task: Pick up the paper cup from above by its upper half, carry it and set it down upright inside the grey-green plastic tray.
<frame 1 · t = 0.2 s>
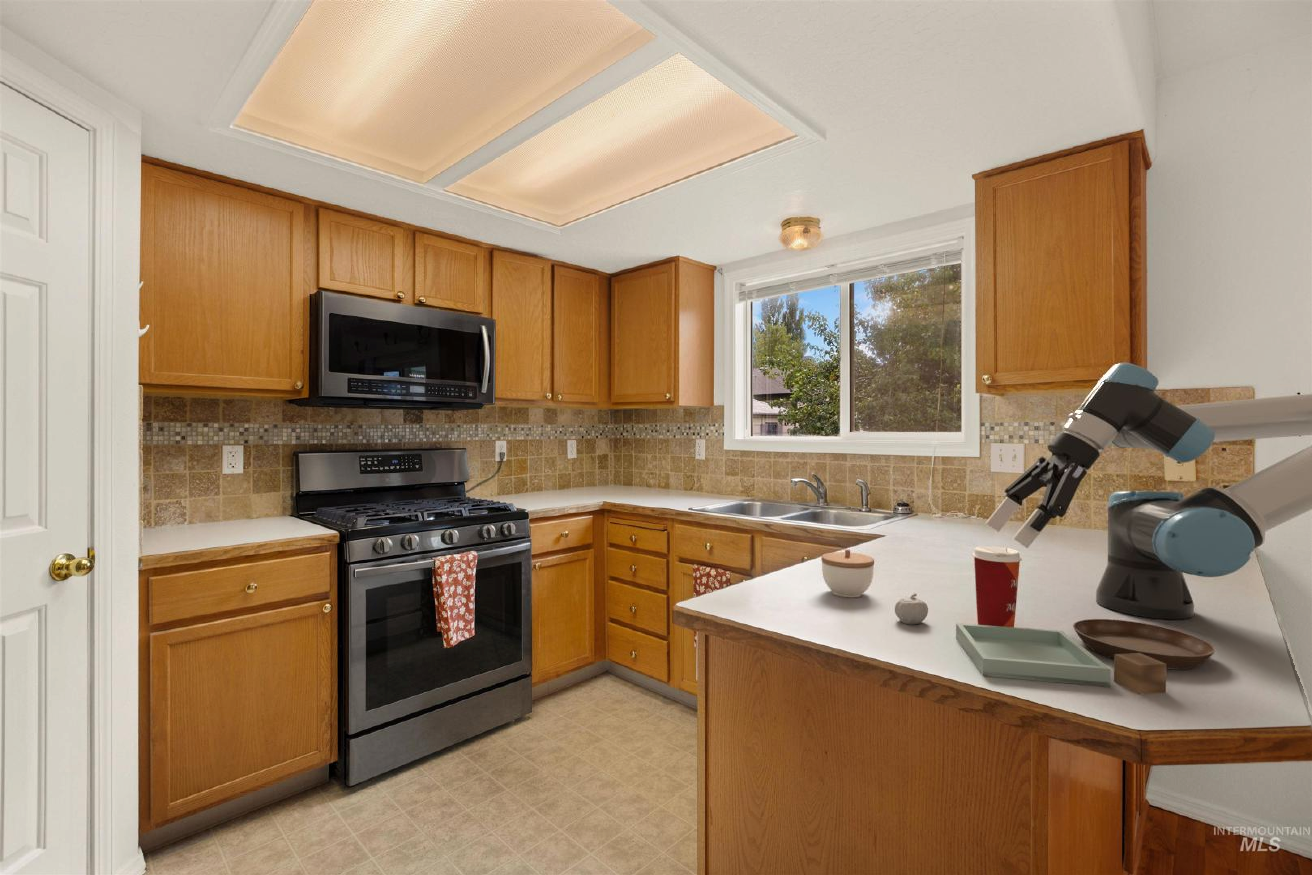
hand: (1004, 535, 115), 16 cm above the counter, fingers open, 13 cm apart
paper cup: (995, 629, 110), on the counter
tray: (1025, 659, 95), on the counter
walnut block: (1139, 687, 85), on the counter
lidded jar: (847, 594, 132), on the counter
plant saucer: (1139, 655, 98), on the counter
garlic: (911, 623, 113), on the counter
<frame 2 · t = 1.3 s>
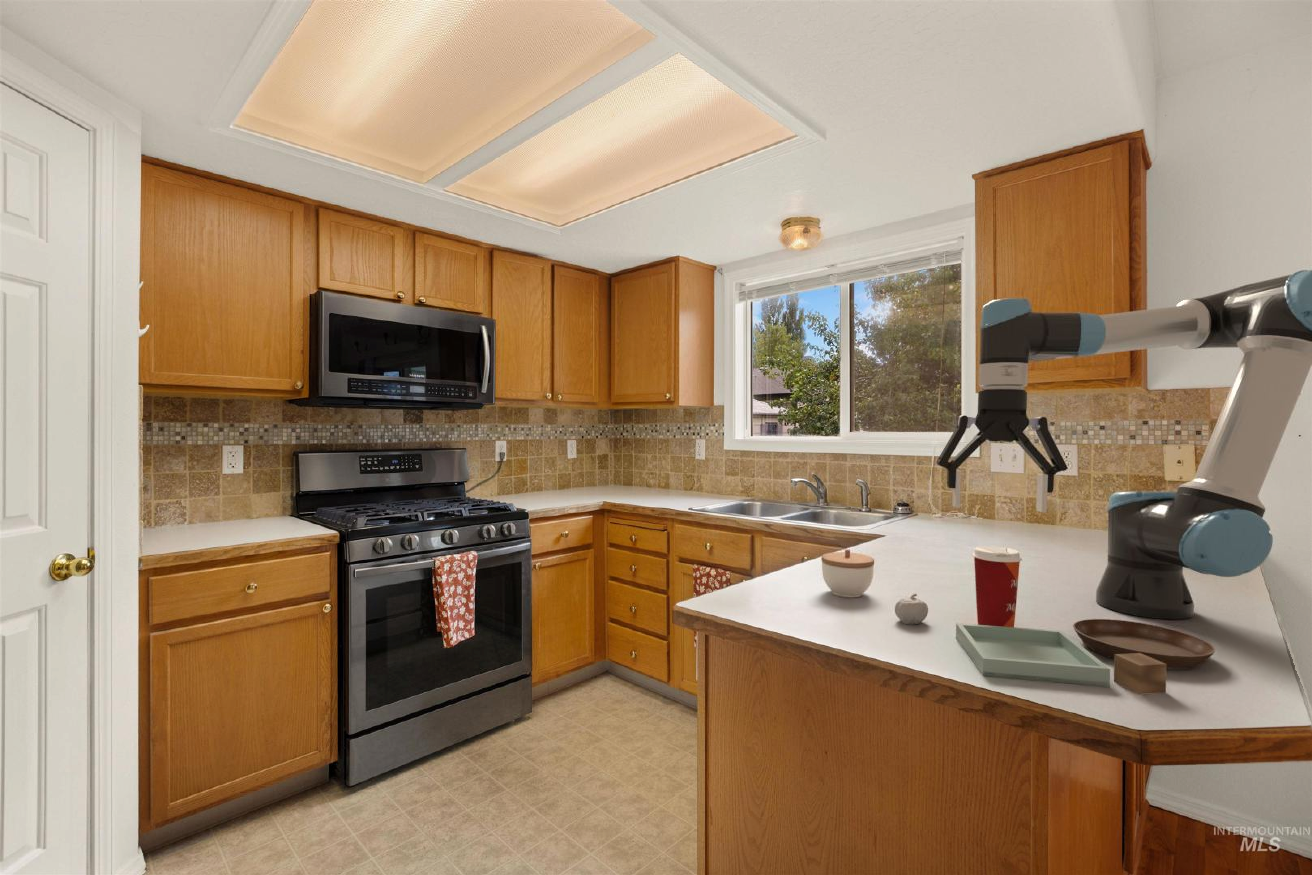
hand: (997, 509, 109), 21 cm above the counter, fingers open, 13 cm apart
nothing on the counter moved.
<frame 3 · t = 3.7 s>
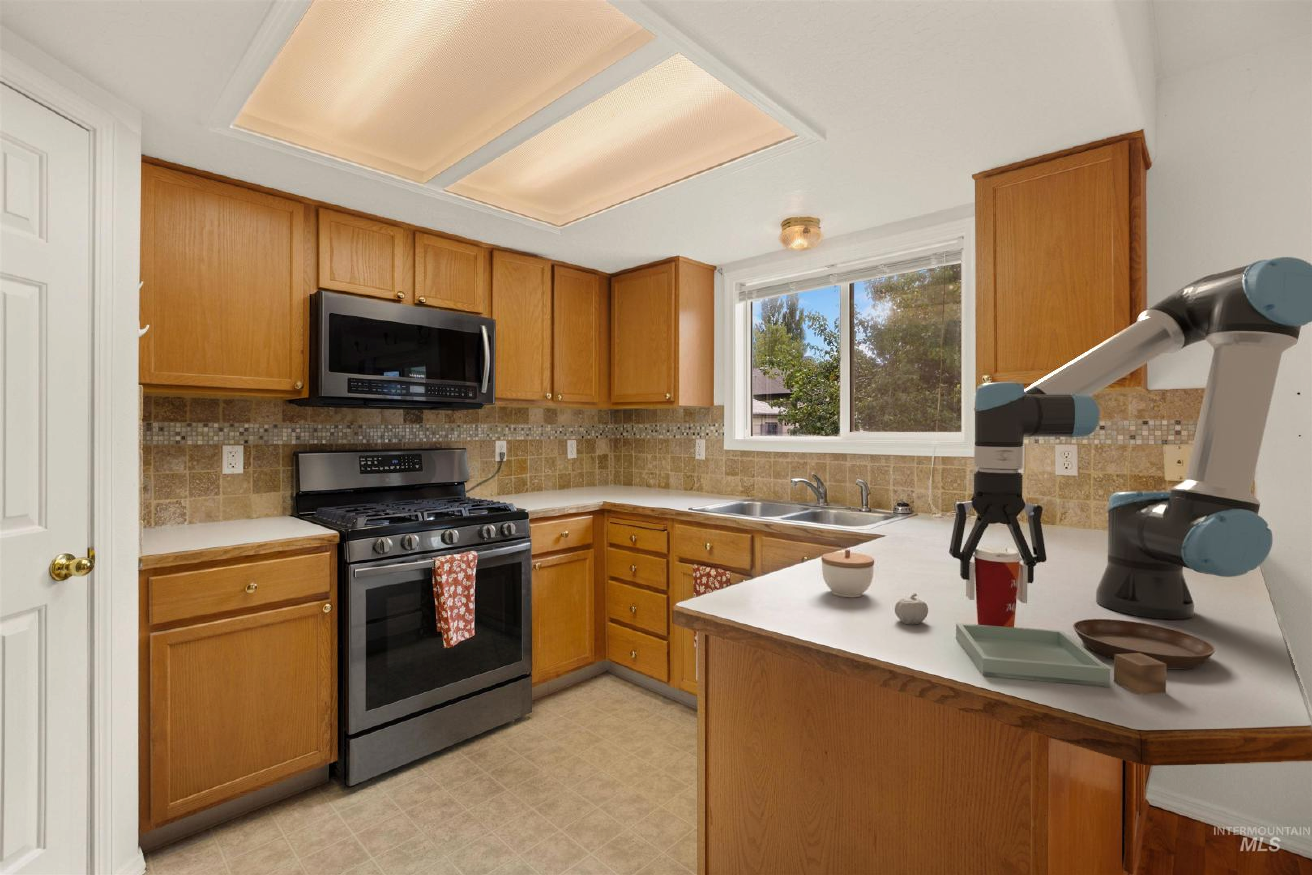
hand: (995, 599, 109), 5 cm above the counter, fingers closed on paper cup, 8 cm apart
paper cup: (995, 629, 110), on the counter, touching gripper
everything else where it was.
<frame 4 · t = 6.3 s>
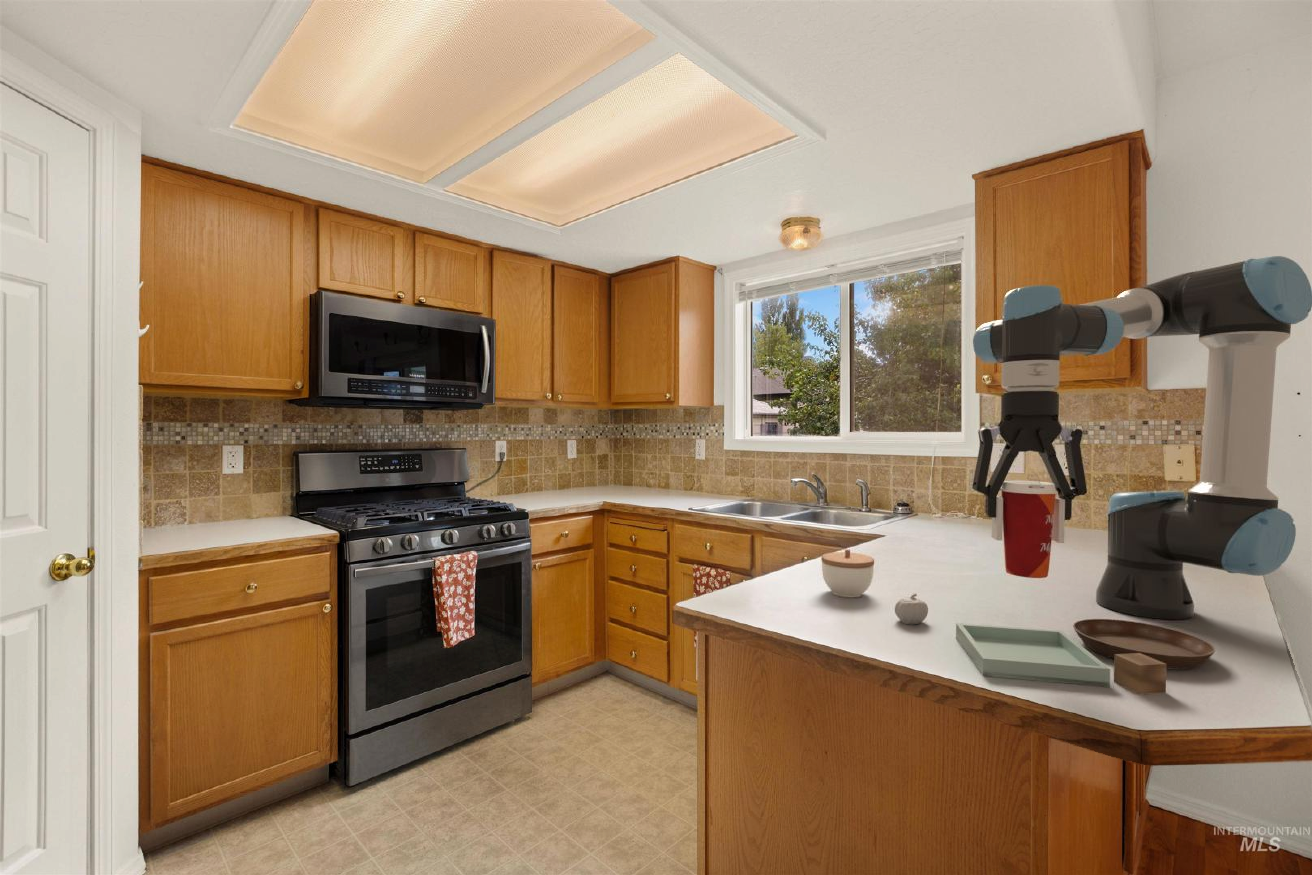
hand: (1026, 539, 94), 19 cm above the counter, fingers closed on paper cup, 8 cm apart
paper cup: (1026, 574, 95), point 13 cm above the counter, touching gripper
everything else where it was.
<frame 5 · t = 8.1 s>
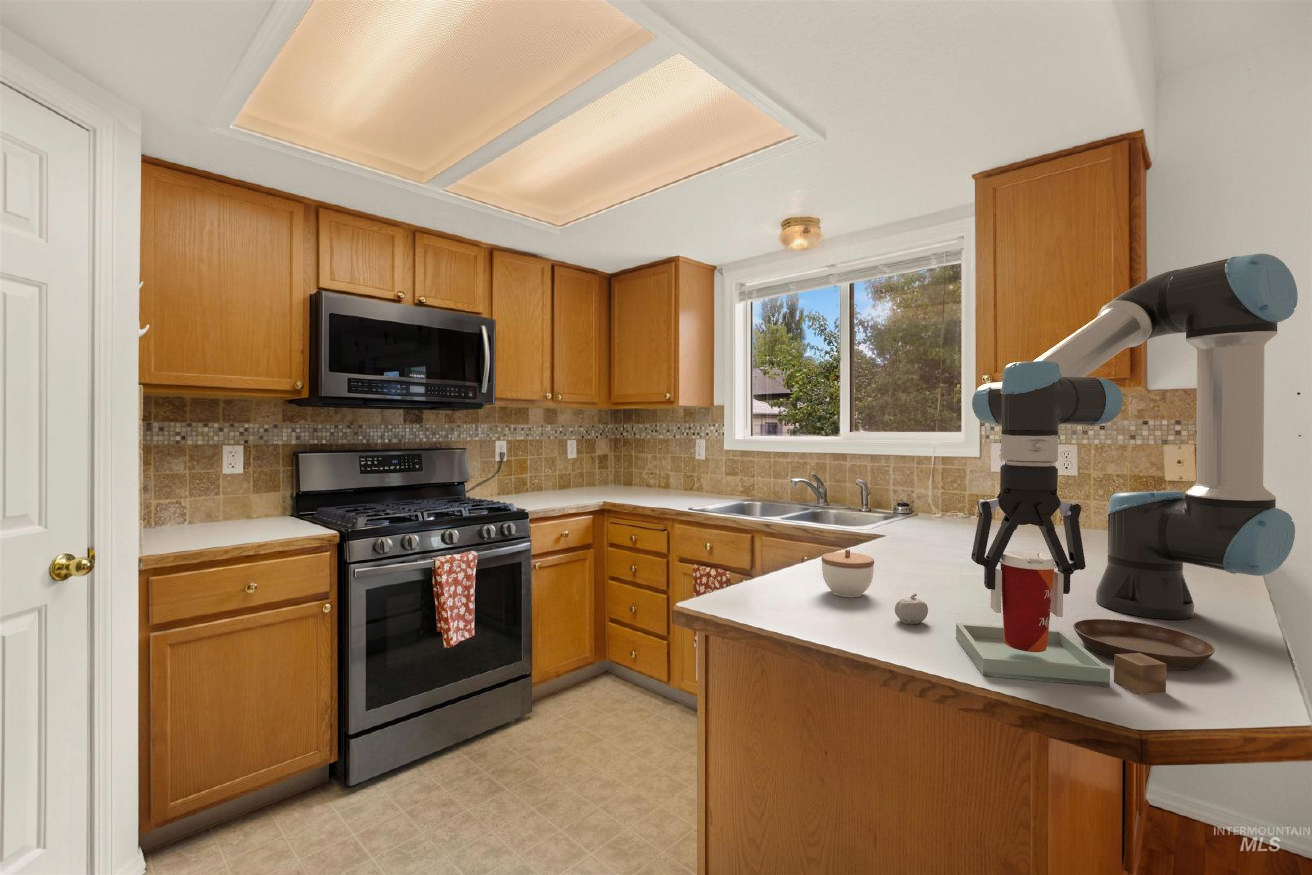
hand: (1025, 612, 95), 7 cm above the counter, fingers closed on paper cup, 8 cm apart
paper cup: (1024, 646, 95), point 2 cm above the counter, touching gripper
everything else where it was.
when the fingers open (6 cm above the counter, at t = 9.2 s): paper cup stays where it is, resting on tray.
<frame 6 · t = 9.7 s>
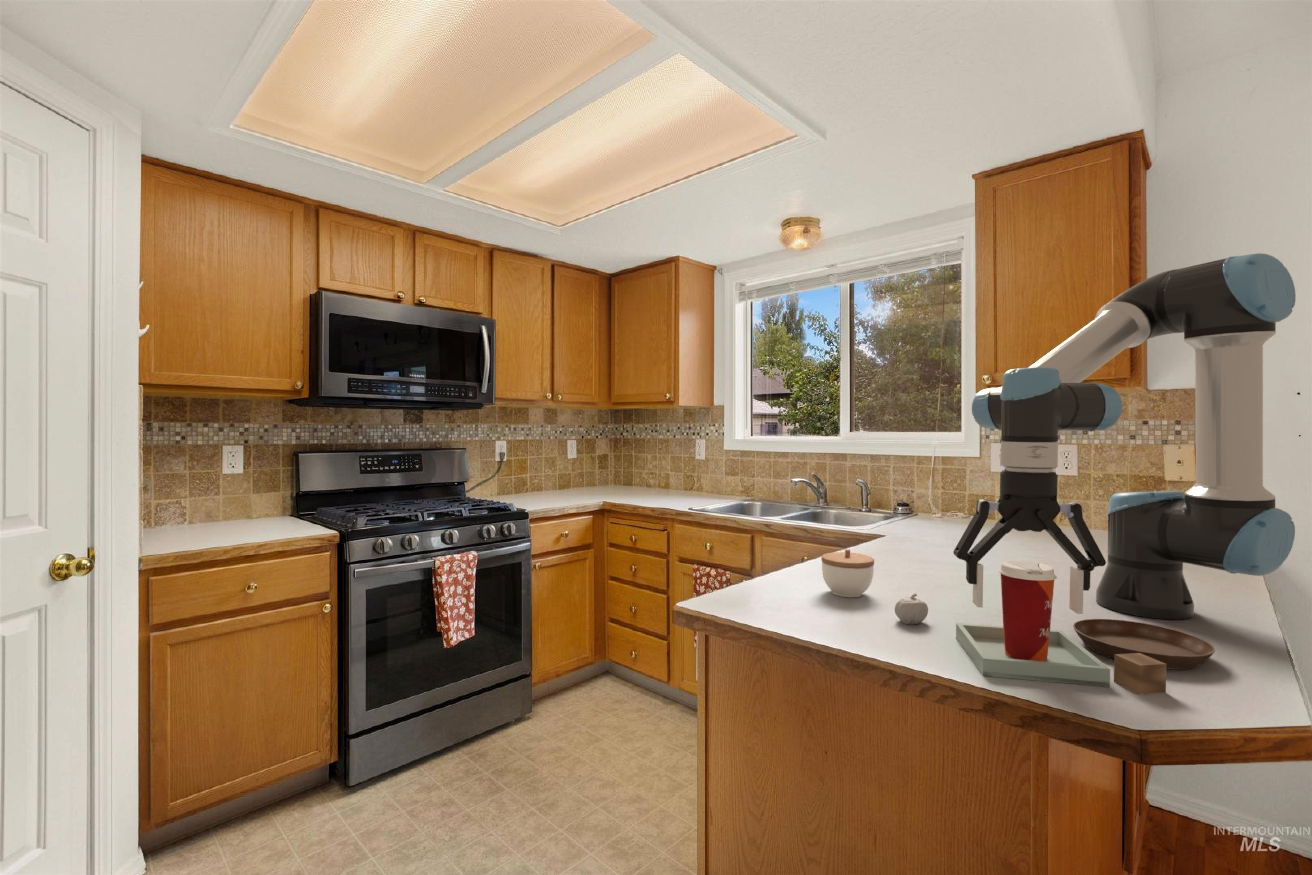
hand: (1025, 608, 95), 8 cm above the counter, fingers open, 13 cm apart
paper cup: (1025, 657, 95), resting on tray
everything else where it was.
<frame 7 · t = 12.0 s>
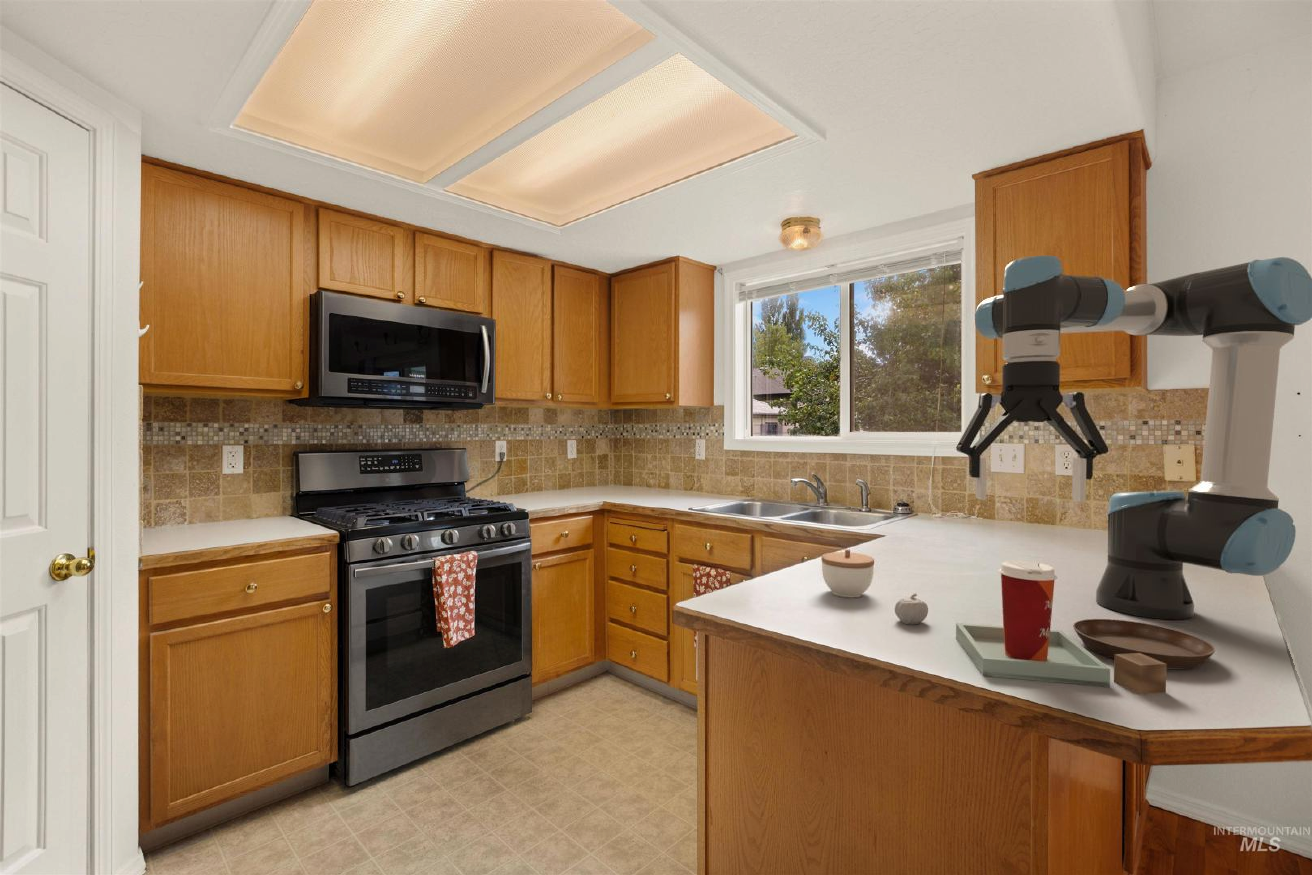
hand: (1028, 500, 95), 25 cm above the counter, fingers open, 13 cm apart
nothing on the counter moved.
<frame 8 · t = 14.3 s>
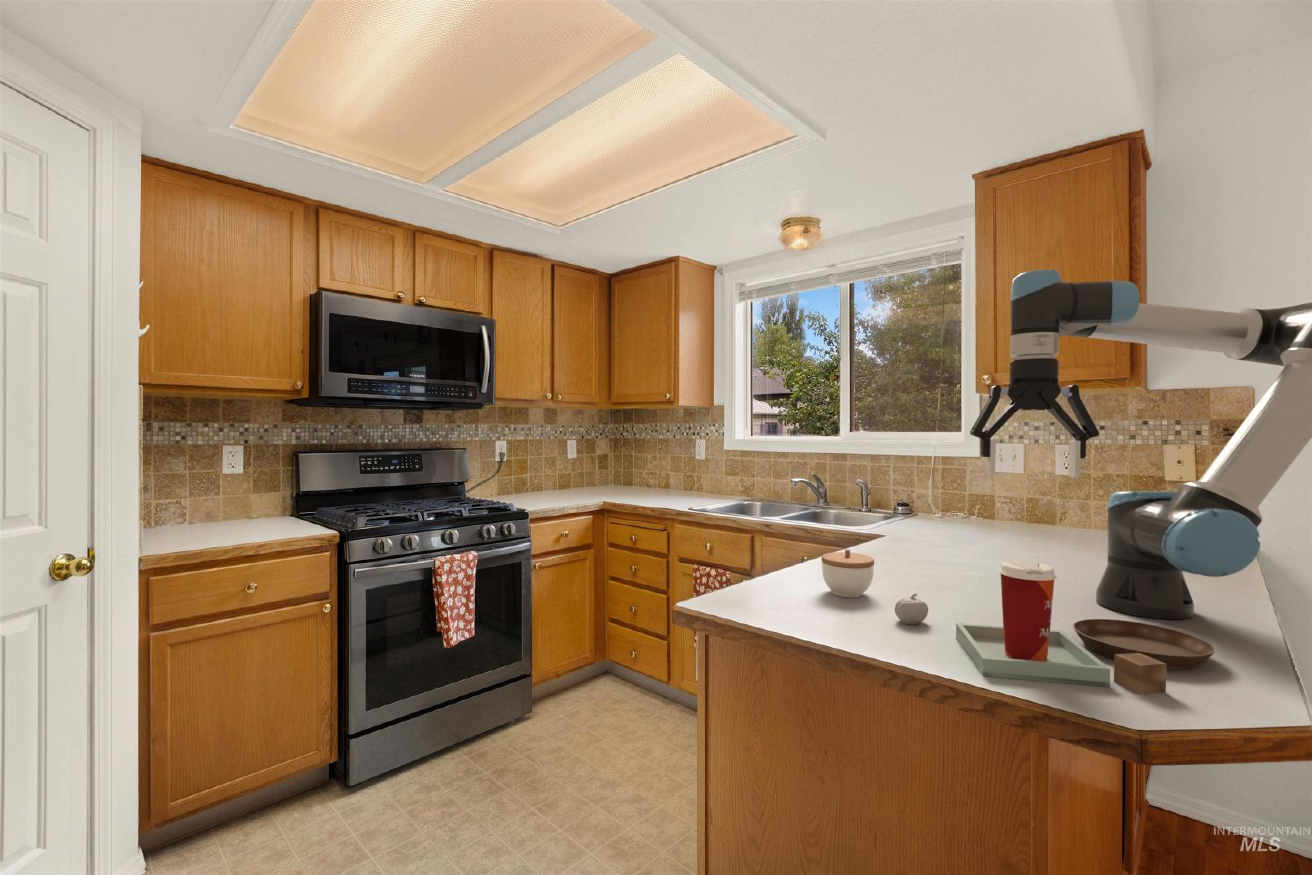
hand: (1031, 476, 112), 27 cm above the counter, fingers open, 13 cm apart
nothing on the counter moved.
at the end: paper cup inside the target area on the tray (0.1 cm from its centre), point 0.4 cm above the tray's base; paper cup tilted 0°; the gripper is holding nothing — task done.
